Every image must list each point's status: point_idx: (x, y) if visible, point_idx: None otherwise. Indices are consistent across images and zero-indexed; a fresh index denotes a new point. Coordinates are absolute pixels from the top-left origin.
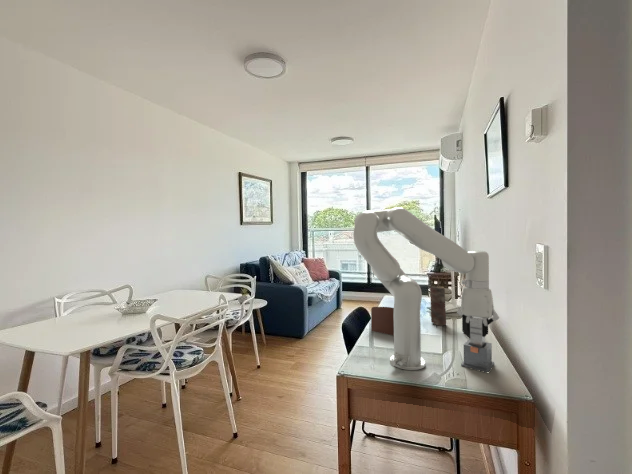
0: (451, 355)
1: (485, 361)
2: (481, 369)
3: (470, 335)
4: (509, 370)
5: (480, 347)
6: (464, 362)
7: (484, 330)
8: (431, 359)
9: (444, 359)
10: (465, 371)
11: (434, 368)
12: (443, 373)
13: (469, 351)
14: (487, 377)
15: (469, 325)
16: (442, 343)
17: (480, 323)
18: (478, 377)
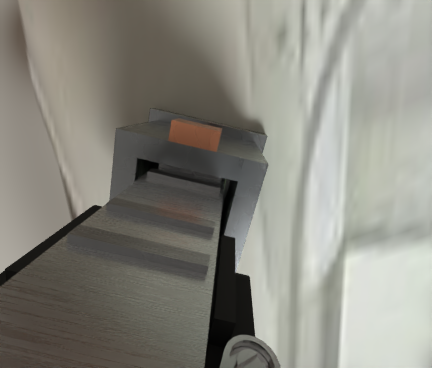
0: (304, 241)
1: (152, 123)
2: (180, 115)
3: (217, 216)
4: (86, 176)
5: (157, 155)
6: (253, 143)
7: (54, 236)
8: (399, 163)
9: (337, 186)
10: (247, 86)
11: (393, 53)
12: (351, 7)
13: (229, 147)
14: (156, 61)
15: (222, 296)
16: (336, 348)
17: (24, 293)
18: (191, 41)
